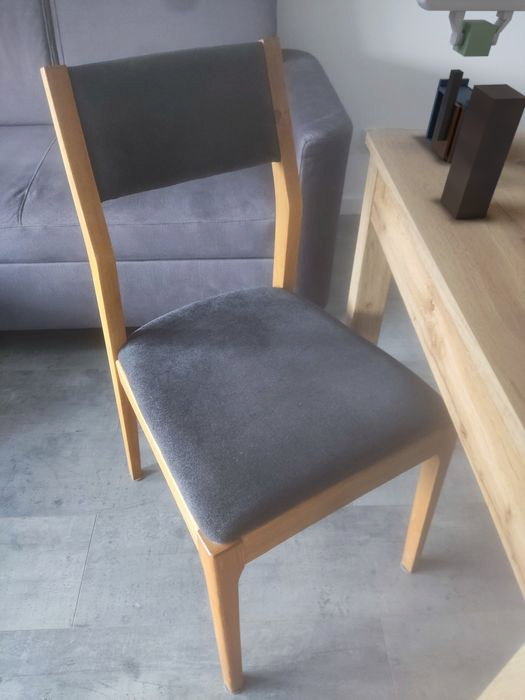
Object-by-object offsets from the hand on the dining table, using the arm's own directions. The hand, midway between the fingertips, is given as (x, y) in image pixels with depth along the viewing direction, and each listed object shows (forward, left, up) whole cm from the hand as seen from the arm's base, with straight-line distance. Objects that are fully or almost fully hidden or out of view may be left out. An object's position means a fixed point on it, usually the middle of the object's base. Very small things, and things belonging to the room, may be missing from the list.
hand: (472, 44), depth 80 cm
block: (0, 0, -1) cm, 1 cm away
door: (+4, +4, -15) cm, 16 cm away
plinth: (+7, +22, -16) cm, 28 cm away
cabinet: (0, +2, -16) cm, 16 cm away
